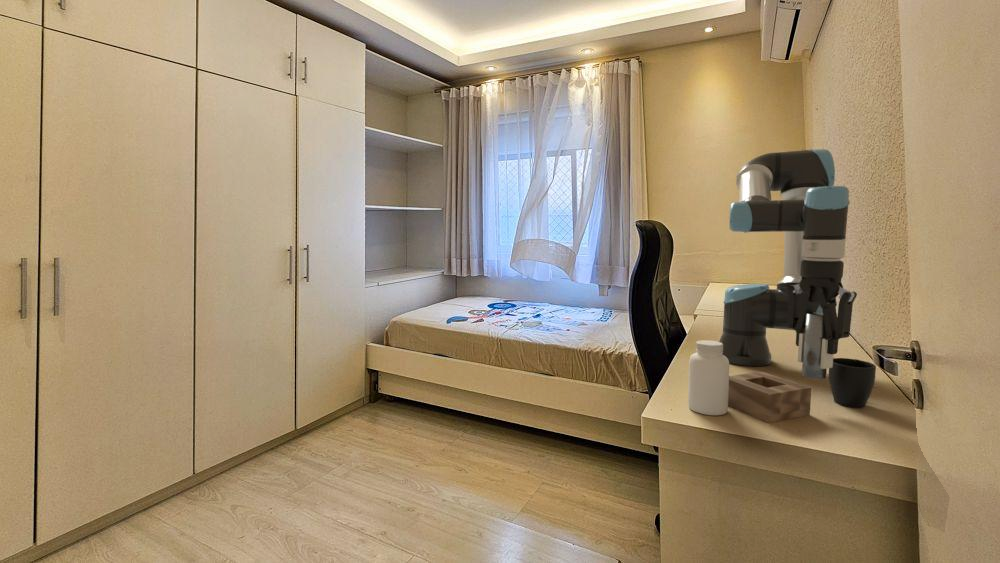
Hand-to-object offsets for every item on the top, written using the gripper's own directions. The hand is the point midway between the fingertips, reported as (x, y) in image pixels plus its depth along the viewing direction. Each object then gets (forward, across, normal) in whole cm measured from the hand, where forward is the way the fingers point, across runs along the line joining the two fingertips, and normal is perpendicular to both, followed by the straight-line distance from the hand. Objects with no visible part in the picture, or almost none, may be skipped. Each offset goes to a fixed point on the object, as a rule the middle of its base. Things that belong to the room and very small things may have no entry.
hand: (814, 364), depth 98 cm
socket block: (+9, -3, -12) cm, 15 cm away
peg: (+3, 0, 0) cm, 3 cm away
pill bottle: (+10, -7, -24) cm, 26 cm away
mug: (+10, +1, +11) cm, 15 cm away
